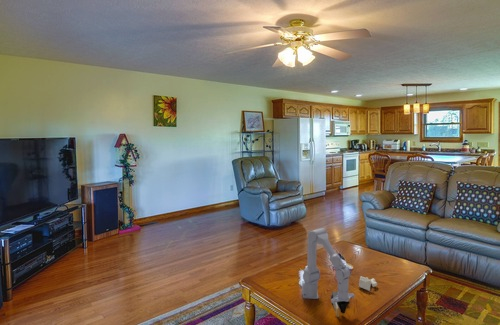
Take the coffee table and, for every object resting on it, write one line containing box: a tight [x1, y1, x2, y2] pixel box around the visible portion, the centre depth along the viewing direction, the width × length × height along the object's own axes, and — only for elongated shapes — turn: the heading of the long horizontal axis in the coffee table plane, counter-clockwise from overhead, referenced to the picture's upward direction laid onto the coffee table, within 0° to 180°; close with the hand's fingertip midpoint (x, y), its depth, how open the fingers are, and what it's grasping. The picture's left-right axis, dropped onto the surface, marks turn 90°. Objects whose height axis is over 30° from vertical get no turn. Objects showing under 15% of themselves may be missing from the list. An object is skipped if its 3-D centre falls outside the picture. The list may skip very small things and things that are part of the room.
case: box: [330, 291, 339, 306], centre depth 179 cm, size 9×6×5 cm, turn 84°
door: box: [332, 297, 340, 318], centre depth 170 cm, size 12×1×5 cm, turn 177°
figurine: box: [358, 275, 378, 292], centre depth 196 cm, size 7×9×15 cm
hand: (342, 312), depth 166 cm, fingers closed
